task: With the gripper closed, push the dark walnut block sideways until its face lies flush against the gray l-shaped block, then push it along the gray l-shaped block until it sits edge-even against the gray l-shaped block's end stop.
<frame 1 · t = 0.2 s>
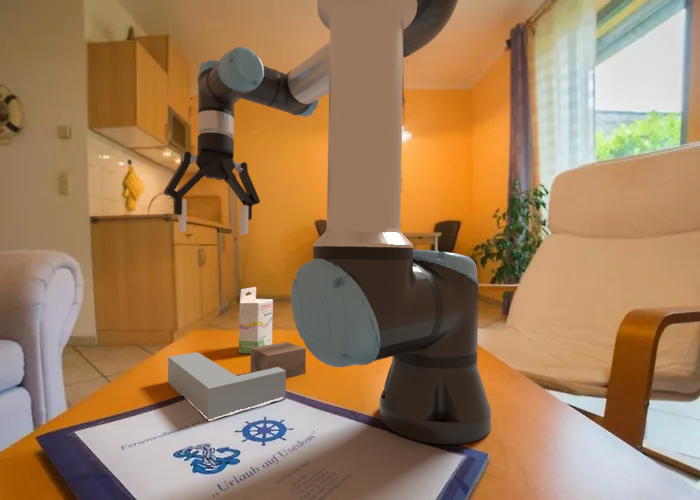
hand: (214, 232, 80), 27 cm above the table, fingers open, 13 cm apart
walnut block: (277, 374, 70), on the table
ink box: (256, 350, 87), on the table
gray l-shaped block: (201, 395, 58), on the table
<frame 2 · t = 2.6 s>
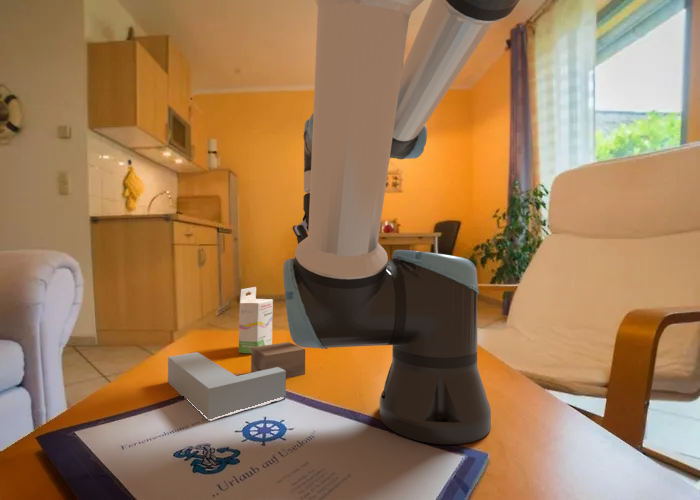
hand: (320, 305, 77), 12 cm above the table, fingers closed
nothing on the table moved.
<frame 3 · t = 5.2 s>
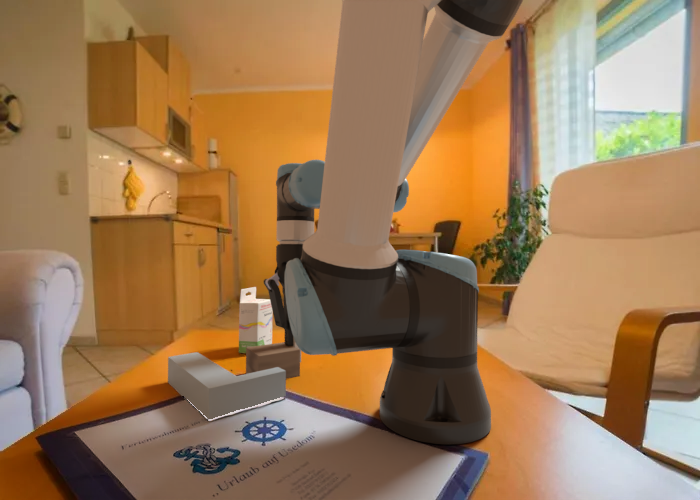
hand: (294, 361, 73), 2 cm above the table, fingers closed
walnut block: (272, 374, 69), on the table, touching gripper
everything else where it was.
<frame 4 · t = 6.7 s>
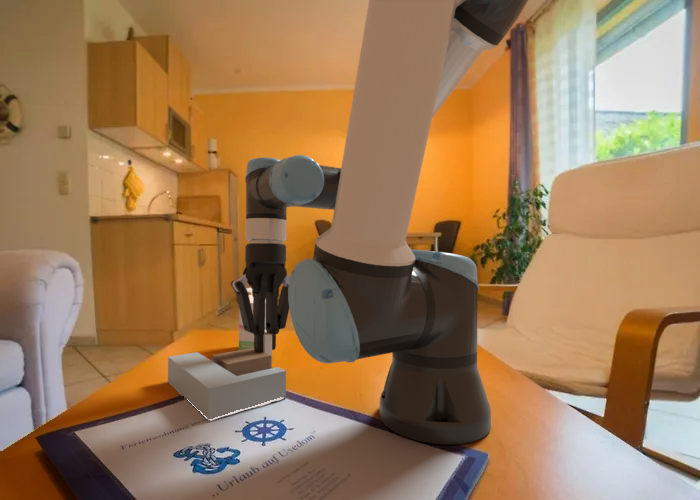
hand: (264, 368, 68), 1 cm above the table, fingers closed
walnut block: (241, 383, 65), on the table, touching gripper
everything else where it was.
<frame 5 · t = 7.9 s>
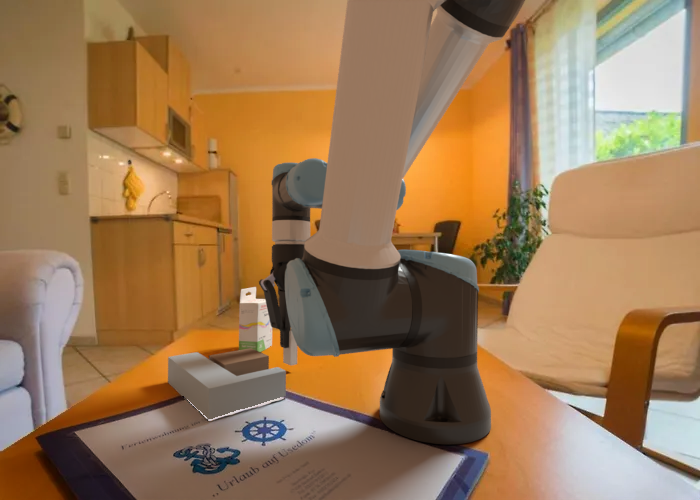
hand: (290, 363, 71), 1 cm above the table, fingers closed
walnut block: (238, 383, 65), on the table
everything else where it was.
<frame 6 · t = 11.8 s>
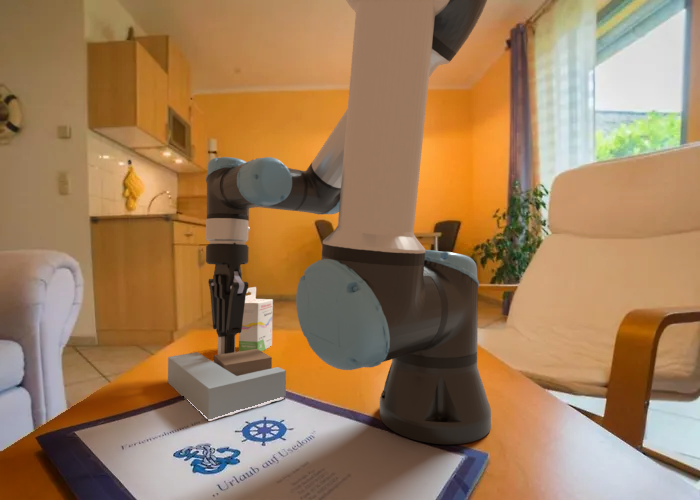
hand: (226, 369, 67), 1 cm above the table, fingers closed
walnut block: (242, 384, 64), on the table, touching gripper
everything else where it was.
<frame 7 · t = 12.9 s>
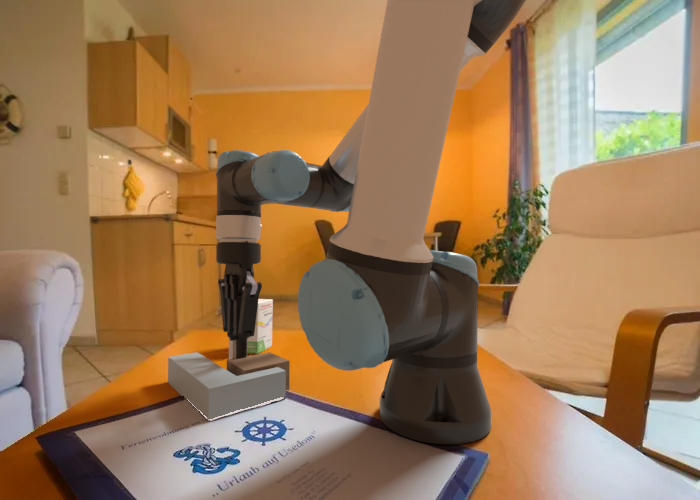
hand: (237, 374, 64), 2 cm above the table, fingers closed
walnut block: (257, 390, 61), on the table, touching gripper
everything else where it was.
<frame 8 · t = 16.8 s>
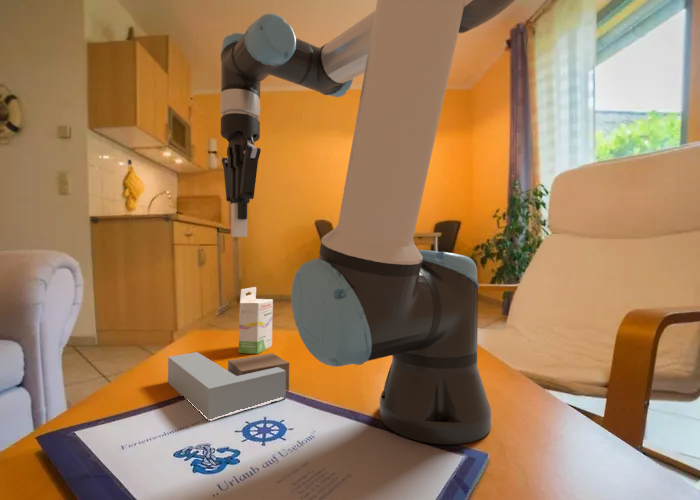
hand: (239, 236, 72), 26 cm above the table, fingers closed
walnut block: (258, 391, 61), on the table
everything else where it was.
at the end: walnut block 1.4 cm from the target spot on the gray l-shaped block, point 0.0 cm above the gray l-shaped block's base; walnut block tilted 0° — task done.
